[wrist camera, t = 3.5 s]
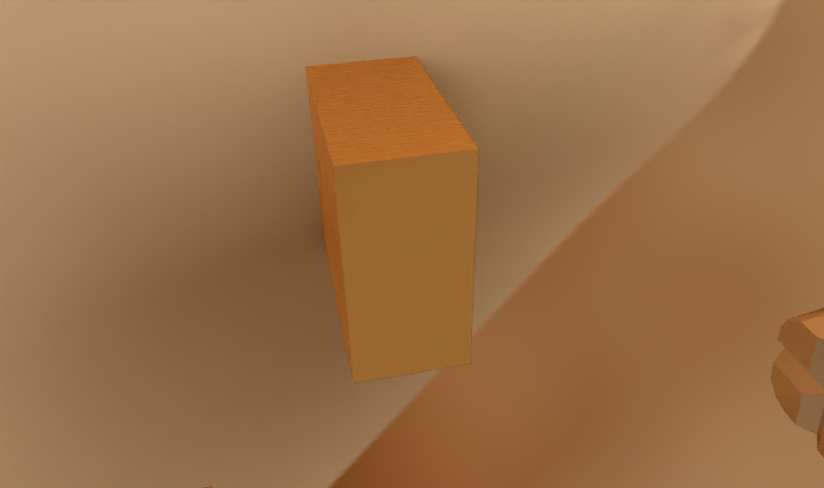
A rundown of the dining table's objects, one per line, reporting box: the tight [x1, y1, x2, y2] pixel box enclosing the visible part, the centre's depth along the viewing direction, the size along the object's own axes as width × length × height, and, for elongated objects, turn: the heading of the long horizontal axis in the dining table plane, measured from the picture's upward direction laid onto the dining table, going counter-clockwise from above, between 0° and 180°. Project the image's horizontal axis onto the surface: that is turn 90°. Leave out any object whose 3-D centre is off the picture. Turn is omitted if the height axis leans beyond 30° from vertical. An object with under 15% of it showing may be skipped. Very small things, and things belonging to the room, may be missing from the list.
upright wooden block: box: [306, 57, 479, 383], centre depth 15 cm, size 5×2×5 cm, turn 1°
